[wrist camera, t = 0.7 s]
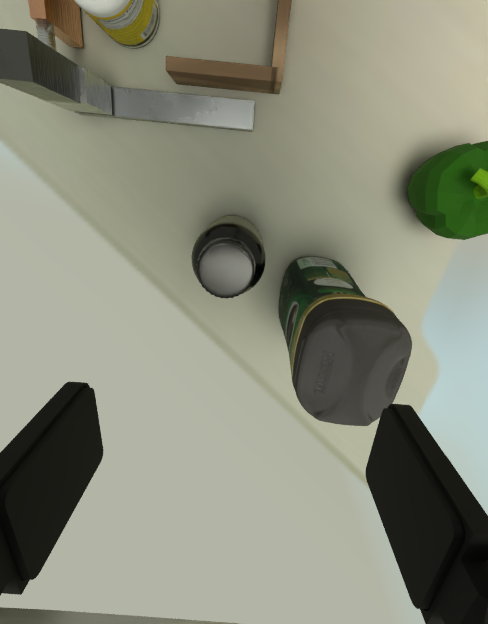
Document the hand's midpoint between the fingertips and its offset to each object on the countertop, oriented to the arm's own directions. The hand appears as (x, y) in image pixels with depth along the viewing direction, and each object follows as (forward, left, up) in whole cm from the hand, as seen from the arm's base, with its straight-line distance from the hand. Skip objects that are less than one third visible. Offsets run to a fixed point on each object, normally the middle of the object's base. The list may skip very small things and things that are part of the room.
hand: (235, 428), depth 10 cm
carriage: (-18, -17, -28) cm, 37 cm away
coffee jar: (+4, +8, -29) cm, 30 cm away
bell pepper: (-9, +19, -29) cm, 36 cm away
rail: (-13, -10, -29) cm, 33 cm away
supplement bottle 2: (-1, -2, -29) cm, 29 cm away
